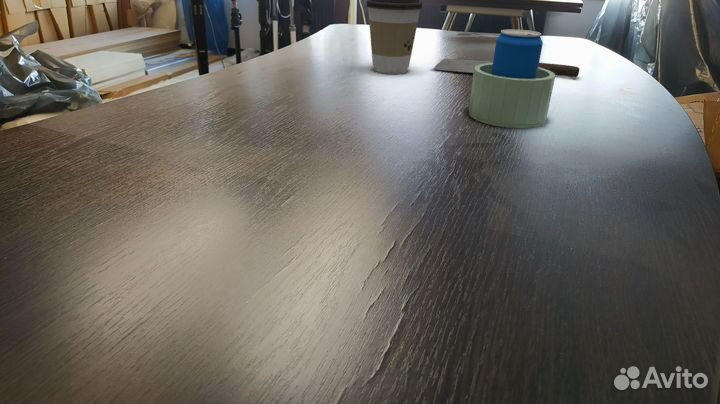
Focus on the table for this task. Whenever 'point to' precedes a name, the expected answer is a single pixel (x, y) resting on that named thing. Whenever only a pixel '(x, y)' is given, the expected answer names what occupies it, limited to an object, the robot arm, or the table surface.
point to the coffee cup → (392, 33)
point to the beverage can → (517, 54)
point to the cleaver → (469, 65)
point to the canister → (510, 98)
